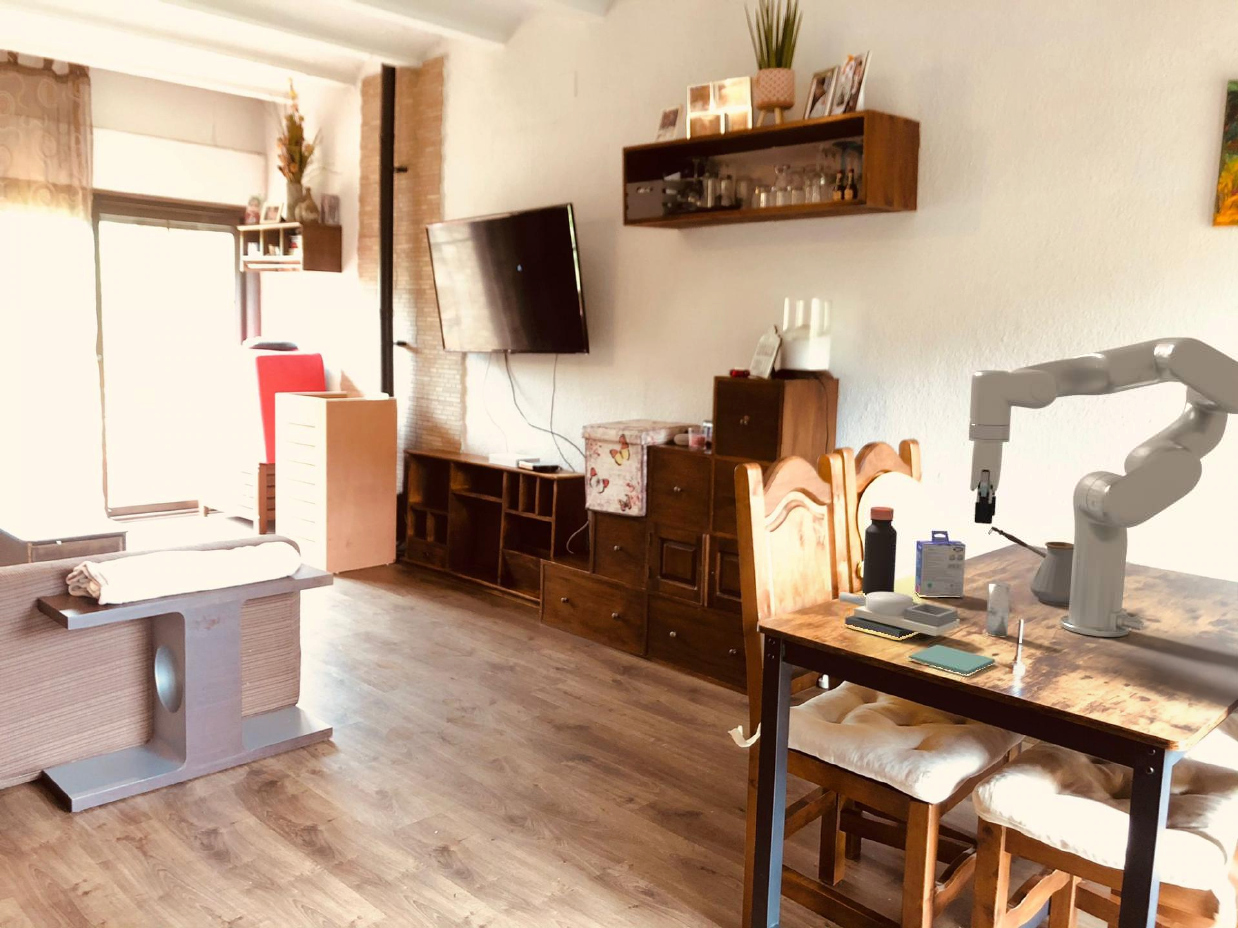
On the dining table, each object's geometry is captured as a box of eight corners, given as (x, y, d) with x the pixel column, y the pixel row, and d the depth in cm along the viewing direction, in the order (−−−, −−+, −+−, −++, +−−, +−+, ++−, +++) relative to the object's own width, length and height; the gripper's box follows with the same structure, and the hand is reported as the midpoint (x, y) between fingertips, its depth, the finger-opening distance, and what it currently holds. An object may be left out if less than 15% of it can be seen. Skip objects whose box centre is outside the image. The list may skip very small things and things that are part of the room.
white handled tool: (828, 609, 201) (829, 590, 200) (854, 602, 207) (854, 583, 207) (935, 636, 184) (936, 615, 183) (959, 627, 190) (960, 606, 189)
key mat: (994, 664, 175) (994, 658, 175) (966, 676, 168) (967, 671, 168) (937, 649, 183) (937, 644, 183) (908, 660, 176) (909, 655, 176)
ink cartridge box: (956, 592, 226) (960, 530, 224) (964, 599, 220) (968, 534, 218) (912, 591, 226) (916, 529, 224) (919, 598, 220) (923, 534, 219)
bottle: (871, 601, 217) (876, 511, 214) (856, 593, 223) (860, 506, 221) (899, 600, 218) (904, 510, 216) (883, 592, 225) (887, 505, 222)
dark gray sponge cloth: (931, 629, 196) (931, 619, 196) (898, 641, 188) (899, 631, 188) (878, 616, 205) (878, 607, 204) (844, 627, 197) (845, 617, 196)
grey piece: (1011, 634, 193) (1014, 584, 192) (1001, 638, 191) (1004, 587, 190) (991, 630, 196) (994, 580, 195) (981, 634, 194) (984, 584, 192)
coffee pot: (1090, 600, 221) (1095, 534, 219) (1078, 611, 212) (1083, 542, 210) (992, 585, 233) (996, 522, 232) (977, 594, 224) (981, 529, 222)
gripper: (972, 429, 204) (968, 511, 206) (965, 436, 188) (961, 525, 190) (1011, 430, 201) (1007, 513, 203) (1007, 438, 185) (1002, 528, 187)
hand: (984, 519), depth 197 cm, fingers open, 9 cm apart
